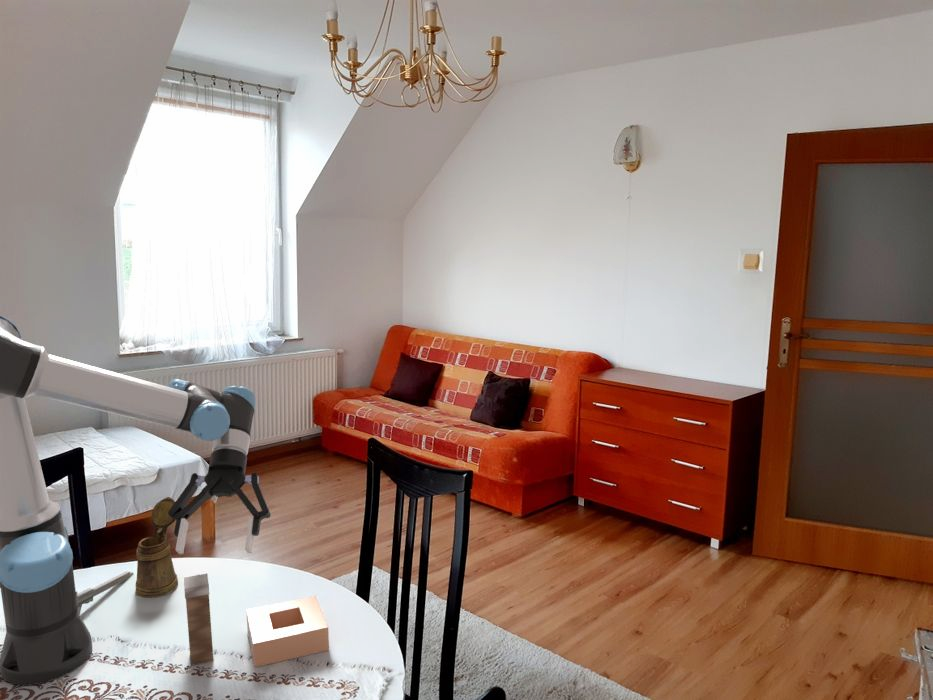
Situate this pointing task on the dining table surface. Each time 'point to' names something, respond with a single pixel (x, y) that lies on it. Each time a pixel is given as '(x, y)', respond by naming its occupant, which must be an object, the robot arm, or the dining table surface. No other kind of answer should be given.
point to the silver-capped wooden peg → (198, 618)
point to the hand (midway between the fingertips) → (213, 551)
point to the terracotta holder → (287, 630)
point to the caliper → (99, 589)
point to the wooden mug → (156, 556)
